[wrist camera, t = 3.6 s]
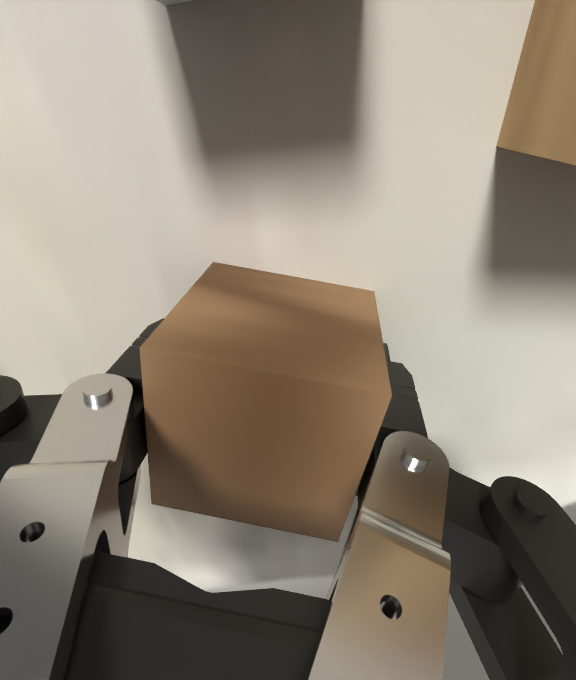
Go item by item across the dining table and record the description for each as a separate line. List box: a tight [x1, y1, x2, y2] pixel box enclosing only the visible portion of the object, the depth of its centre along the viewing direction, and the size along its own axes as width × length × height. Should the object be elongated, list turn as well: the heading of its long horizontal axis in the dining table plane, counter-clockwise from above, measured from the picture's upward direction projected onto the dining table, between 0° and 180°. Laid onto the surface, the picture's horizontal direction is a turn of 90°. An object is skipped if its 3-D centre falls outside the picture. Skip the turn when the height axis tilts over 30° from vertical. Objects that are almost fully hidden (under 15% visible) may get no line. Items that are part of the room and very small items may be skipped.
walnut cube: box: [140, 262, 392, 542], centre depth 10 cm, size 4×4×4 cm
